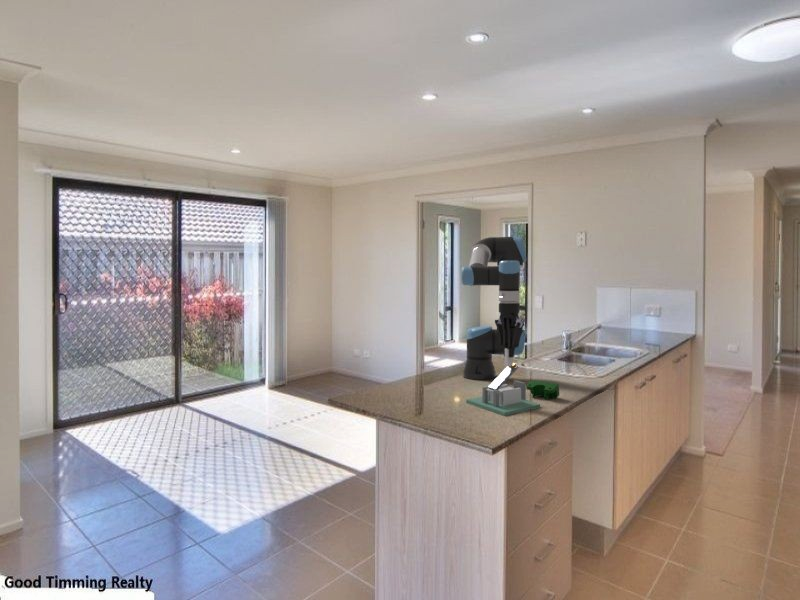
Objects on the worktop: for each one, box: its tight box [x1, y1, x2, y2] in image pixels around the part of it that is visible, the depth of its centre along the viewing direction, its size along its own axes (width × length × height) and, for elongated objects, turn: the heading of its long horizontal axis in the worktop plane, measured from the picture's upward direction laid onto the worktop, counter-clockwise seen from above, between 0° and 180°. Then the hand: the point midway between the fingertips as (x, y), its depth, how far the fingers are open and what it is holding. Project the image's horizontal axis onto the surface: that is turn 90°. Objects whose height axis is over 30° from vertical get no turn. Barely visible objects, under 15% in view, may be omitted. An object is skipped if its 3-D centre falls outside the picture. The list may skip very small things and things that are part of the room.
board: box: [465, 379, 541, 417], centre depth 186 cm, size 18×20×8 cm
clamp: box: [526, 379, 560, 401], centre depth 196 cm, size 12×6×9 cm, turn 42°
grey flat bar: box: [487, 362, 519, 390], centre depth 185 cm, size 14×4×2 cm
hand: (508, 365), depth 186 cm, fingers closed
